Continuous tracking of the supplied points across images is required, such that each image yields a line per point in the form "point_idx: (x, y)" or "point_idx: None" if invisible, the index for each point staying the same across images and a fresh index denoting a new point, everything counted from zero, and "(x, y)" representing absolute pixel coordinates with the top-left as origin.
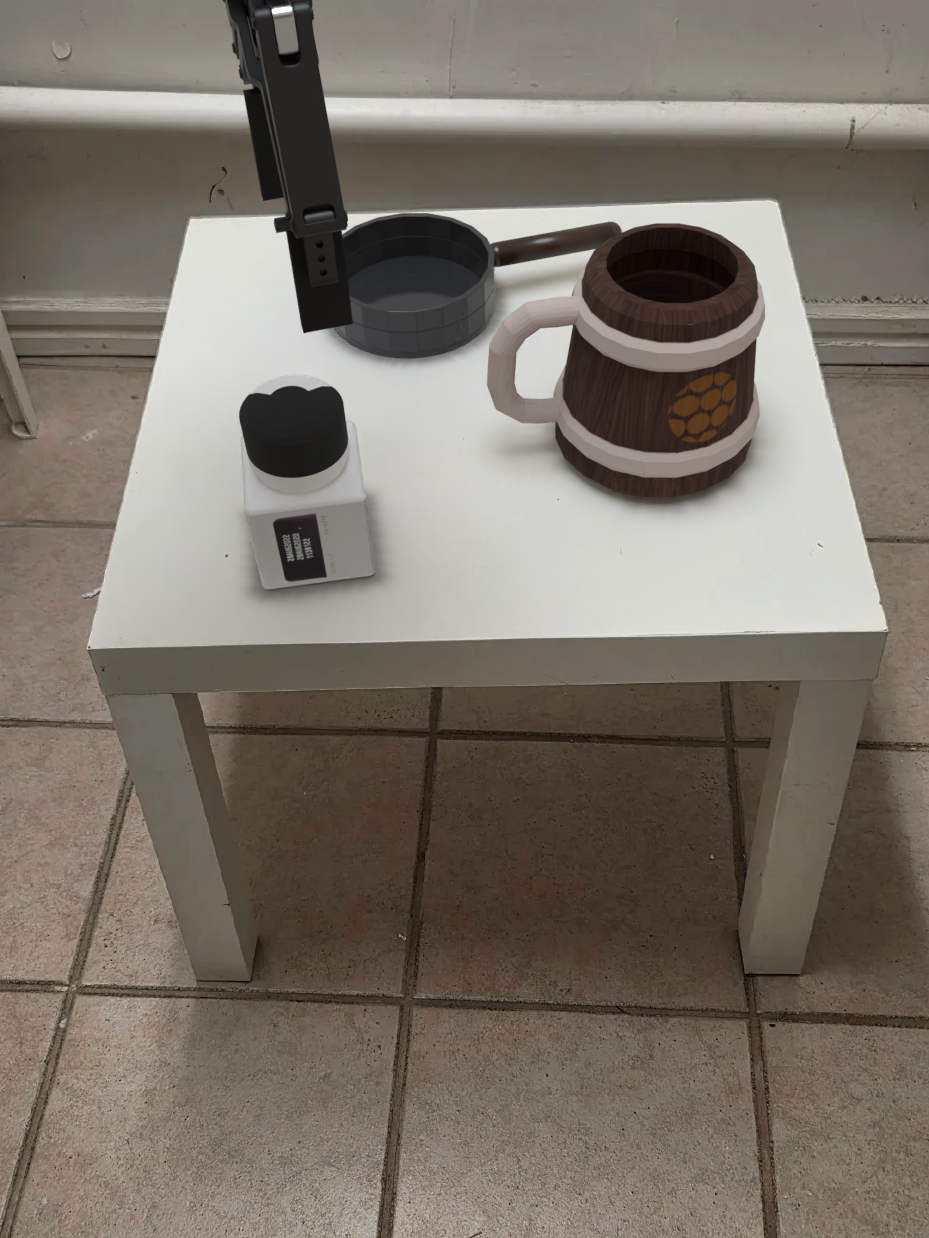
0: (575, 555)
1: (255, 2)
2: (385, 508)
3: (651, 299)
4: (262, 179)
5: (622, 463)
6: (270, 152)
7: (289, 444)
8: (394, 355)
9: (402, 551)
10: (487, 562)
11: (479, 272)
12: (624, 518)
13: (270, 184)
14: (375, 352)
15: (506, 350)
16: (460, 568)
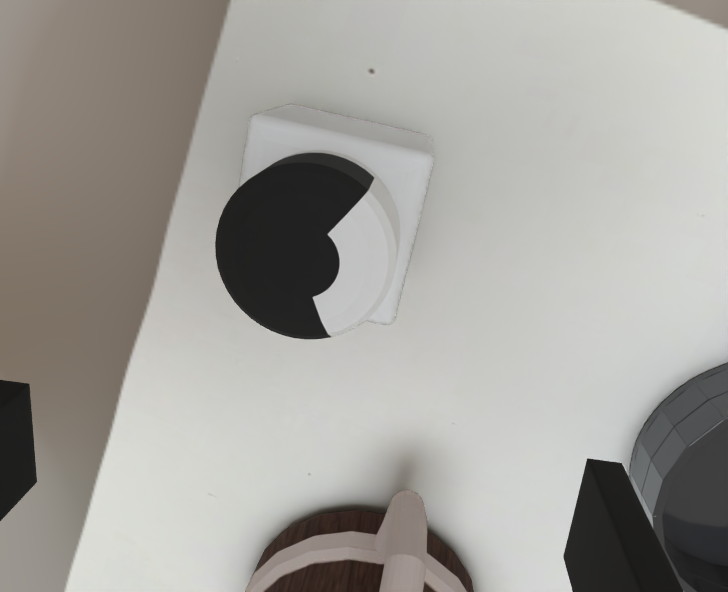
0: (221, 454)
1: None
2: None
3: None
4: (599, 504)
5: (268, 566)
6: (612, 590)
7: (218, 226)
8: (658, 408)
9: None
10: (242, 369)
11: None
12: (255, 519)
13: (592, 508)
14: (680, 388)
15: (383, 571)
16: (243, 338)
